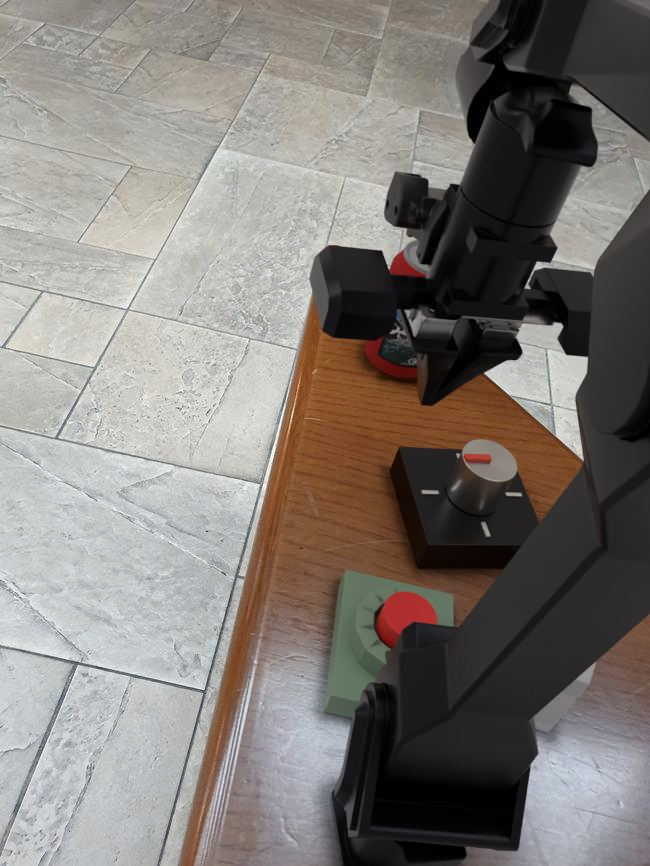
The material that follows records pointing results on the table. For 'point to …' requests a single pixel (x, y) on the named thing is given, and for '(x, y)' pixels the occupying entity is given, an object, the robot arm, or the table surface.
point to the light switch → (562, 702)
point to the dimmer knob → (481, 477)
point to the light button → (403, 615)
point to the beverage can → (398, 325)
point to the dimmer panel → (456, 514)
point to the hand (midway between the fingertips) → (424, 401)
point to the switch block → (366, 635)
